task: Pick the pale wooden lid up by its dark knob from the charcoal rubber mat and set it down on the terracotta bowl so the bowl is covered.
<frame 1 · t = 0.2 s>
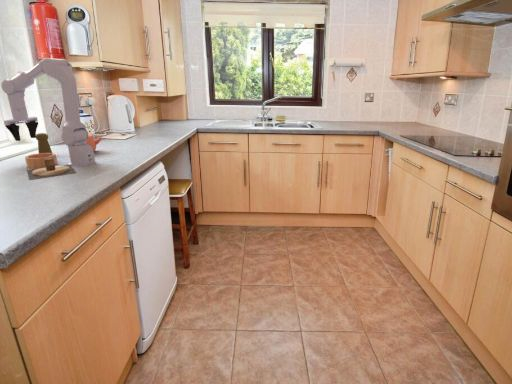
hand: (25, 139, 149), 10 cm above the worktop, tool pointing down, fingers open, 7 cm apart
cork: (46, 155, 162), on the worktop
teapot: (85, 152, 169), on the worktop
lid: (51, 171, 133), resting on mat
mat: (51, 172, 133), on the worktop
bowl: (42, 165, 143), on the worktop
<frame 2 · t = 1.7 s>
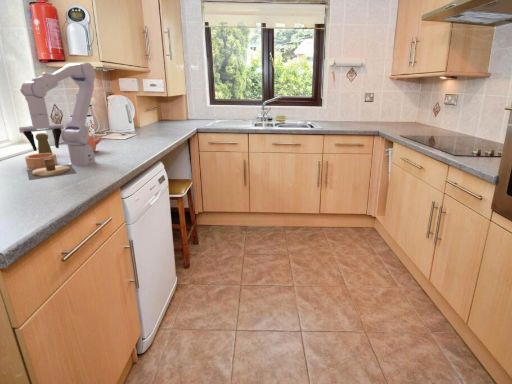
hand: (46, 149, 130), 10 cm above the worktop, tool pointing down, fingers open, 7 cm apart
nothing on the worktop moved.
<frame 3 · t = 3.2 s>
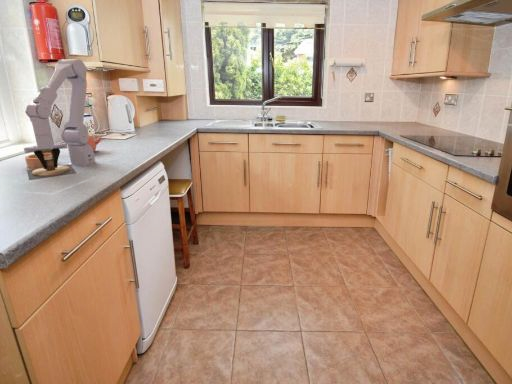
hand: (50, 168, 132), 2 cm above the worktop, tool pointing down, fingers closed on lid, 3 cm apart
lid: (51, 171, 133), resting on mat, touching gripper
everything else where it was.
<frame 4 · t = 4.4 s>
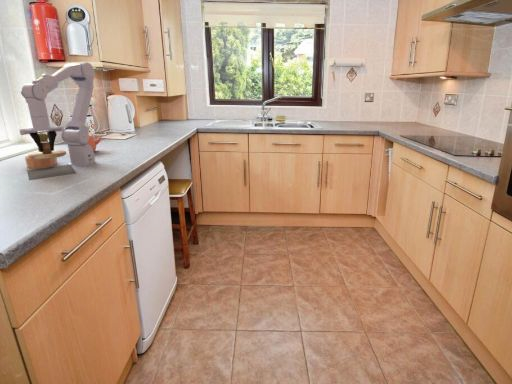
hand: (47, 151, 130), 9 cm above the worktop, tool pointing down, fingers closed on lid, 3 cm apart
lid: (47, 155, 130), point 7 cm above the worktop, touching gripper
everything else where it was.
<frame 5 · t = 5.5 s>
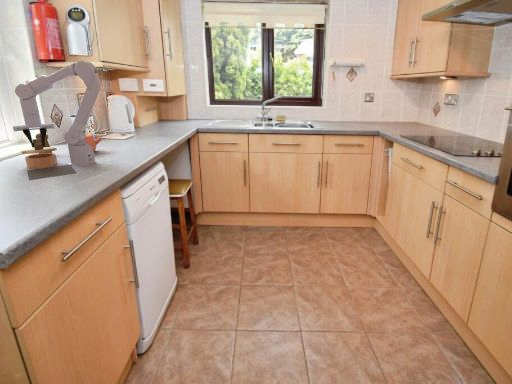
hand: (38, 146, 140), 8 cm above the worktop, tool pointing down, fingers closed on lid, 3 cm apart
lid: (39, 151, 140), point 7 cm above the worktop, touching gripper
everything else where it was.
when the fingers open (7 cm above the worktop, at t = 6.0 s): lid stays where it is, resting on bowl.
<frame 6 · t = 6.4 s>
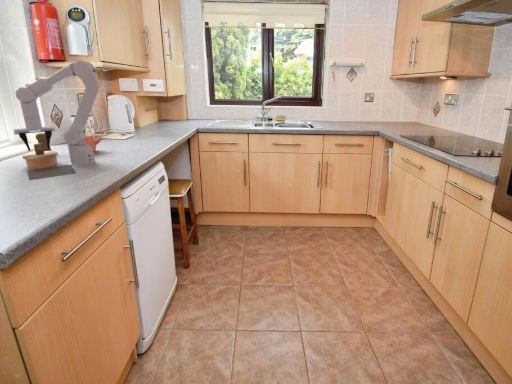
hand: (39, 149, 141), 7 cm above the worktop, tool pointing down, fingers open, 6 cm apart
lid: (40, 156, 141), point 4 cm above the worktop, touching bowl
everything else where it was.
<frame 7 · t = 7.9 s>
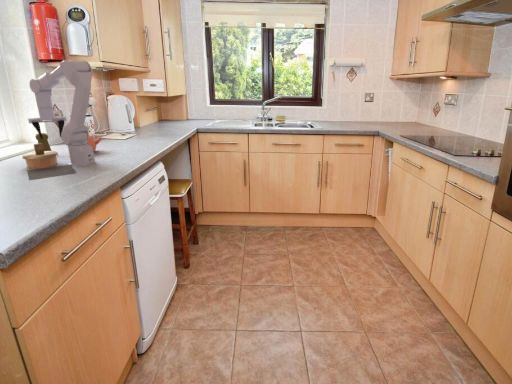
hand: (51, 138, 149), 10 cm above the worktop, tool pointing down, fingers open, 7 cm apart
nothing on the worktop moved.
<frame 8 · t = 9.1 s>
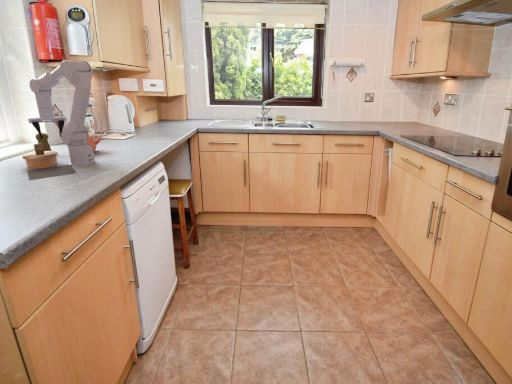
hand: (51, 138, 149), 10 cm above the worktop, tool pointing down, fingers open, 7 cm apart
nothing on the worktop moved.
at the end: lid 0.8 cm off-centre on the bowl, point 4.5 cm above the bowl's base; lid tilted 0°; the gripper is holding nothing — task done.
